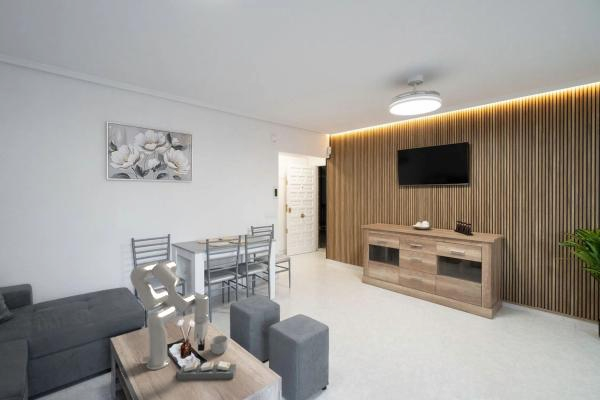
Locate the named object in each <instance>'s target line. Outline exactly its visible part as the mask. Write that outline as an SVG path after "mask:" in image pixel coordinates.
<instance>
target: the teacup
mask: <svg viewBox="0 0 600 400" xmlns="http://www.w3.org/2000/svg"><path fill="white" fill-rule="evenodd" d="M209 346H210V351H211V353H212V354H214V355H221V354H223V353H225V351H226V350H227V349H228V337H227V335H224V334H223V333H221V334H220V335H217V336H214V337H212V338H211V339H210V340H209Z"/></svg>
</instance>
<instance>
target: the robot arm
mask: <svg viewBox="0 0 600 400" xmlns="http://www.w3.org/2000/svg"><path fill="white" fill-rule="evenodd" d="M177 269H178V266H177V264H176V262H174V261H173V260H170V259H167V260H166V259H165V260H154V261H150V262H148V263H144V264H140V265H138V266H135V267H134V268H133V269H132V270H131V272H130V275H129V279H130V282H131V284H132V286H133V288H134V289H135V291H136V292H137V295H138V297H139V299H140V301H141V304H142V306H143V308H144V310H145V311H148V312H149V311H153V310H155V309H156V310H155V311H153V312H151V313H150V314H148V316H147V319H146V325H147V329H148V349H149V350H148V351H149V352H148V353H149V354H148V355H144V356H143V357H142V362H146V363H145V364H146V368H147V370H151V371H152V370H153V371H155V370H160V369H162V368H165V367H167V366H168V365H169V364H170V362H171V357H169V356H168V331H167V329H166V328H165V325H166V324H169V322H171V321H173V320H174V319H176V317H177V314H178V313H177V311H178V312H186V311H188V310H189V309H191V308H193V307H194V315H193V316H194V320H193V321H194V329H193V341H194V342H196V341H197V342H196V345H197V351H198V352H203V351H205V344H206V343H205V342H206V341H205V339H206V336H207V334H208V326H209V325H208V322H209V319H210V318H209V317H210V315H209V313H210V310H209V309H210V307H209V306H210V297H209V296H208V295H207V294H202V293H200V292H196V291H192V292H190V293H187V294H185V295H183V296H182V295H180V294H179V293H178V291H177V287H178V285H179V284H180V282H181V279H180V277H179V276H178V275H177V274H176V272H177ZM151 277H155V279H156V280H157V281H158V282H159V283H160V284H161V285H162V286H163V287H164V289H163V288H160V289H157V290H155V288H154V286H153V283H151V282H150V281H149V280H148V279H150V278H151ZM159 307H160V308H159ZM157 308H159V309H157Z"/></svg>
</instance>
